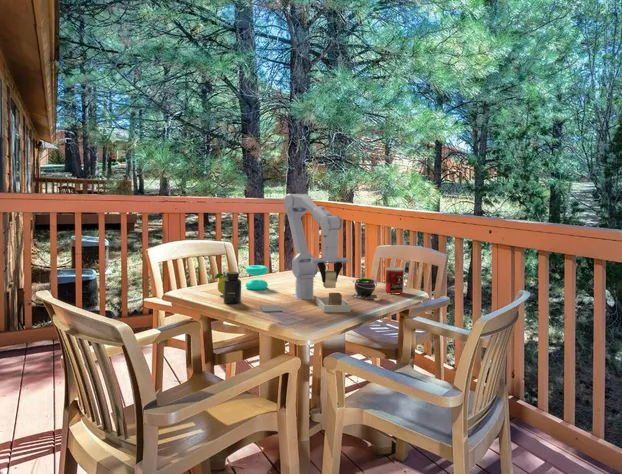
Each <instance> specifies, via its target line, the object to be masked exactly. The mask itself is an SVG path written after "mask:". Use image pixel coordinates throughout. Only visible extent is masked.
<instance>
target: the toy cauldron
mask: <svg viewBox="0 0 622 474" xmlns="http://www.w3.org/2000/svg"><path fill="white" fill-rule="evenodd" d="M363 275H365V274H364V273H362V276H363ZM355 278H357V279H352V280H351V282H352V283H354V291H355V293H352V294H351V296H352V297H353V298H355V299H358V300H373V299H374V298H377V297H378V296H379V295H377V294H374V292H375V290H376V288H377V286H378V284H379V281H378V280H374V279H372V278H374V276H373V277H371V278H367V277H362V278H358V275H355Z"/></svg>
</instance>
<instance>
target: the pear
mask: <svg viewBox="0 0 622 474" xmlns="http://www.w3.org/2000/svg"><path fill="white" fill-rule="evenodd" d="M225 272H226V271H224V272H223V273H220V272H219V273H217V274H216V275H215V276H214V279H216V280H217V279H219V281H218V282H217V291H218V293H221V294H222V295H223V296H224V281H225V280H226V279H227V275H225Z"/></svg>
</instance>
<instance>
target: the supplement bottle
mask: <svg viewBox="0 0 622 474" xmlns="http://www.w3.org/2000/svg"><path fill="white" fill-rule="evenodd" d="M226 276H227V277H226V278H227V279H226V280H225V281H224V295H223V303H224V304H227V305H238V303H239V304H241V302H242V281H241V280H240V279H239V278H240V272H237V271H229V272H228V271H227V272H226Z"/></svg>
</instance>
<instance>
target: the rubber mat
mask: <svg viewBox="0 0 622 474" xmlns="http://www.w3.org/2000/svg"><path fill="white" fill-rule="evenodd" d="M260 308H261V311H262V313H283V310H282V308H281V307H280V305H279V304H269V305H268V304H264V305H260Z"/></svg>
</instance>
